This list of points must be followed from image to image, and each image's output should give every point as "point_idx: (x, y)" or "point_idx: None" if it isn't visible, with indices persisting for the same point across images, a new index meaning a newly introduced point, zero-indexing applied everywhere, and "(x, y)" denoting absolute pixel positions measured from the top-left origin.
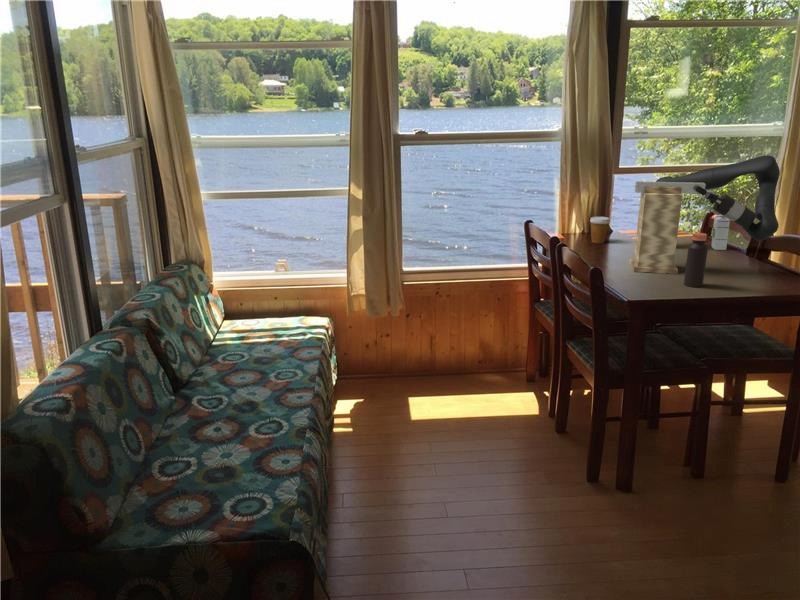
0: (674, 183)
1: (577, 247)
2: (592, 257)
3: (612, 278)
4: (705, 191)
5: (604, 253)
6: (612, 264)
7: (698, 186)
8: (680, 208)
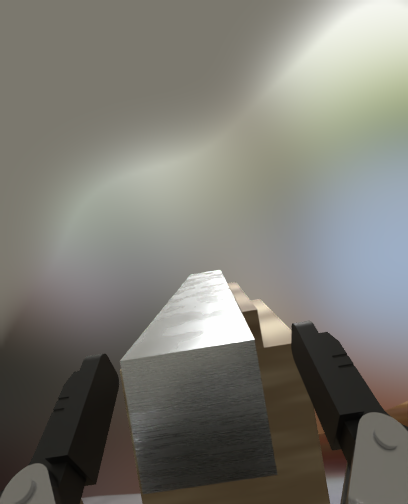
0: (175, 293)
1: (405, 410)
2: (323, 445)
3: (130, 500)
4: (36, 449)
5: None
6: None
7: (95, 355)
8: (134, 450)
